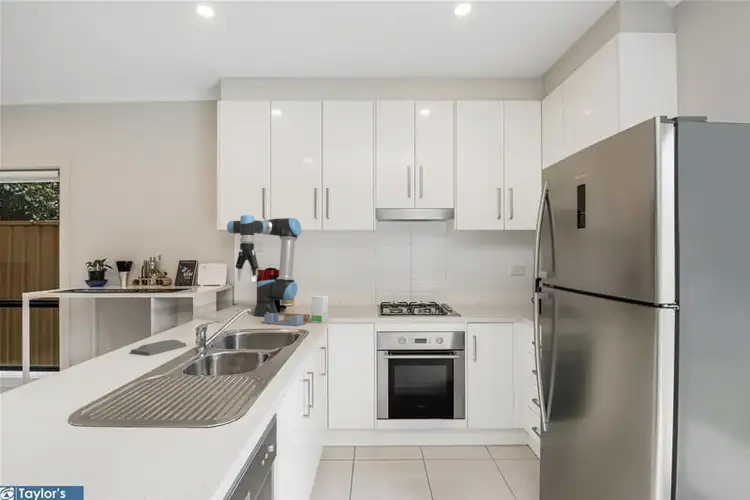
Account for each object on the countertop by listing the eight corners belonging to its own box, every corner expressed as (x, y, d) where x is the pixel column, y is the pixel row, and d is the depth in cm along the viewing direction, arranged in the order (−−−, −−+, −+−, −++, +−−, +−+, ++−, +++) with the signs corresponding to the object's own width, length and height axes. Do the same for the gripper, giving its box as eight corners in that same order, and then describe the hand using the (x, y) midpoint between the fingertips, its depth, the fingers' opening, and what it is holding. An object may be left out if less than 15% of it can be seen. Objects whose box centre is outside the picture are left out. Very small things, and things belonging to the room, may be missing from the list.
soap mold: (129, 355, 174) (129, 346, 174) (168, 346, 193) (168, 337, 193) (149, 357, 170) (149, 348, 171) (187, 347, 189) (187, 339, 189)
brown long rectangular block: (287, 321, 270) (287, 313, 270) (309, 323, 264) (310, 314, 264) (283, 322, 267) (283, 313, 267) (306, 323, 260) (306, 315, 261)
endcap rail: (271, 321, 267) (271, 312, 268) (306, 323, 258) (306, 315, 258) (261, 323, 258) (261, 314, 258) (296, 326, 249) (296, 317, 249)
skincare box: (310, 322, 265) (310, 296, 265) (316, 321, 271) (316, 295, 271) (323, 323, 261) (323, 296, 262) (328, 321, 268) (328, 295, 268)
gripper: (229, 243, 257) (229, 280, 256) (253, 242, 239) (252, 282, 239) (241, 243, 262) (241, 279, 262) (265, 242, 245) (264, 281, 245)
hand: (246, 280), depth 250 cm, fingers open, 13 cm apart
